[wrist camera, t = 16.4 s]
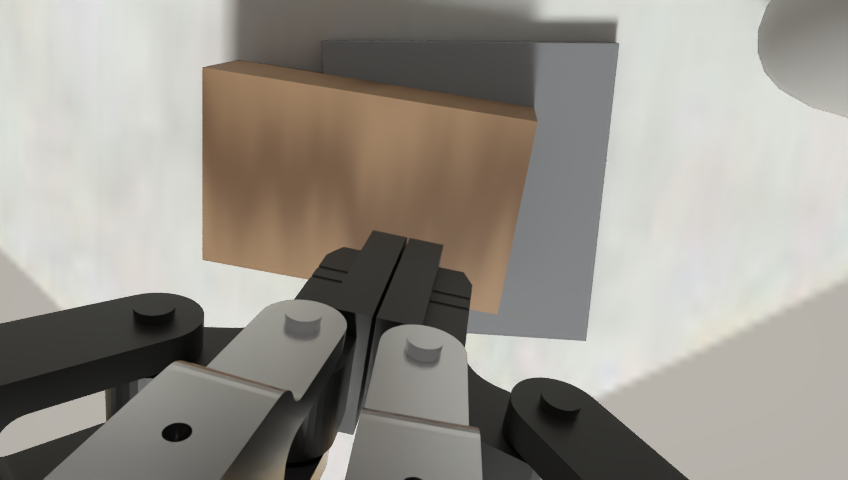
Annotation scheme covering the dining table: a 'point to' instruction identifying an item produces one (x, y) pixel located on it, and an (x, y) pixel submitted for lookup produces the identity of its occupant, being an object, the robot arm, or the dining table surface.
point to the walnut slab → (358, 171)
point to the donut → (807, 51)
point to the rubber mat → (548, 167)
